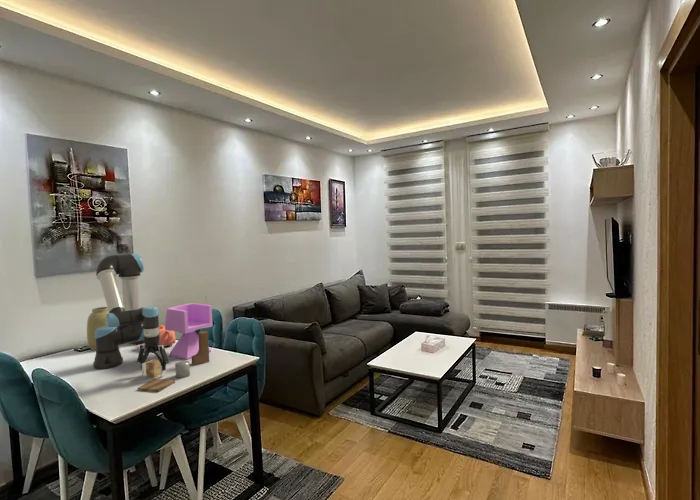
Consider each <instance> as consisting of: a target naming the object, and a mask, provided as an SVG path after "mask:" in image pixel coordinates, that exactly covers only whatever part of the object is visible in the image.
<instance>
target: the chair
mask: <svg viewBox="0 0 700 500" xmlns="http://www.w3.org/2000/svg"><path fill="white" fill-rule="evenodd" d="M213 325H214V324H213V307H212V304H211V305H210V304H205V303H204V304H202V303H197V302H196V303H184V304H181V305H174V306H171V307H168V308H166V315H165V323H164V326H165V330H168V331H174V332H178V333H180V334H182V335H181V336H180V337H179V339H178V341H177V342H175V344H174V346H173V348H171V350H170V352H169V357H175V358H179V359H181V358H182V360H185V359H186V360H185V361H188V359H189V360H192V356H194V355H196V354H197V353H198V351H199V340H198V333H197V332H196V331H198V330H201V329H208V328H211V327H213ZM211 352H212V349H211V348H210V347H209V353H211Z"/></svg>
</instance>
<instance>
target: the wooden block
mask: <svg viewBox="0 0 700 500" xmlns="http://www.w3.org/2000/svg"><path fill="white" fill-rule="evenodd" d="M197 335H198V340H199V351H198V353H197V354H196V355H194V356H192V358H191V364H192V365H193V366H197V365H202V364H205V363H210V352H209V348H210V347H209V346H210V344H209V343H210V341H209V332H208V331H206V330H202V331H198V333H197Z"/></svg>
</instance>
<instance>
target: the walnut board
mask: <svg viewBox="0 0 700 500" xmlns="http://www.w3.org/2000/svg"><path fill="white" fill-rule="evenodd" d="M175 383H176V380H173V379H166V378H165V379H164V378H163V379H162V378H152V379H151V380H150V381H148V382H146V383H144V384H143V385H140V386H138V387H137V391H142V392H151V393H153V392H154V393H159V392H161V391H163V390H165V389H166V388H168V387H170V386H171V385H174V384H175Z"/></svg>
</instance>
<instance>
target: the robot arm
mask: <svg viewBox="0 0 700 500" xmlns="http://www.w3.org/2000/svg"><path fill="white" fill-rule="evenodd" d="M144 268H145V267H144V262H143V259H142V257H141V255H140V254H138V253H126V254H125V253H124V254H110V255H106V256H105V257H104V258H102V259H101V260H100V261H99V262H98V264H97V266H96V269H95V274H96V279H97V280H98V281H100V286H101V289H102V292H103V296H104V299H105V303H106V307H108V311H109V314H107V315H106V324H107V325H104V326H101V327H99V328H97V329H96V330H95V345H96V350H95V356H94V359H93V360H94V361H93V363H92V368H93V369H95V370H106V369H111V368H115V367H119V366H121V365H122V364H123V363H124V358H123V356H122V354H121V351H120V346H122V345H127V344H131V343H132V342H138V341H142V340H143V339H144V344H140V345H139V351H138V356H137V360H136V361H137V363H139V364H140V368H141V374H142V377H143V376H144V377H145V376H146V360H147V358H148V357H149V355H150V353H151V354H154V356H155V357H156V358H157V360H159V361H160V375H159V376H160V378H163V377H165V376H166V369H167V367H166V366H167V364H168V363H170V361H169V360H170V359H169V357H168V354H167V352H166V349H165V348H166V346H164V345H162V346H161V345H159V341H160V338H159V335H158V334H159V326H160V324H159V323H160V321H159V309H158V306H156V305H153V306H151V305H150V306H145V307H142V306H141V307H140V296H139V295H140V294H139V278H140V277H141V273H143V272H144ZM117 275H118V278H119V279H120V280H121V290H122V291H121V292H120V289H119V285H118V282H117V278H116V276H117ZM121 293H122V295H121Z"/></svg>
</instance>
